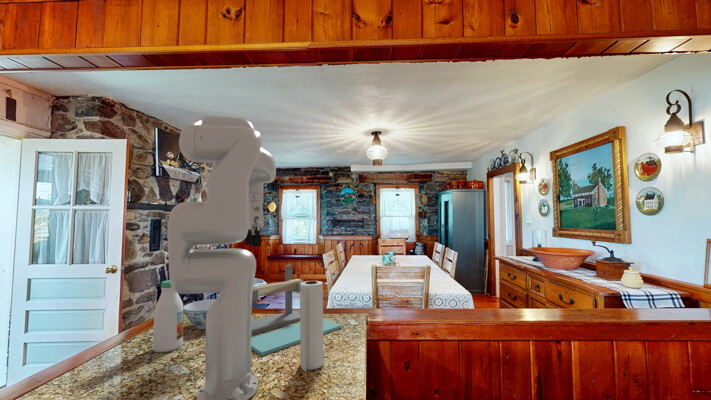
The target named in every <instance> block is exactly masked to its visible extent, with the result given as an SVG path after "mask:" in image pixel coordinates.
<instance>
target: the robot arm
mask: <svg viewBox="0 0 711 400" xmlns="http://www.w3.org/2000/svg"><path fill="white" fill-rule="evenodd" d="M262 143H263V141H262V135H261V133H260V132H259V131H258V130H256V129H255V128H254V126H253V124H252V122H250V121H248V120H247V119H245V118H242V117H235V116H216V115H215V116H214V115H205V116H202V117H201V116H200V117H199V118H196V119H194V120H193V121H190V122H189V123H187V124H186V125H184V127H183V128H182V130H181V131H180V134H179V139H178V144H179V145H178V147H179V149H180V152H181V154H182V155H183V157H184V158H185V159H186V160H188V161H190V162H194V163H216V165H215V166H214V167H213V168H212V170H211V171H210V172H209V174H208V176H207V178H206V200H205V201H184V202H180V203H177V204H176V205H174V207H173V208H171V211H170V213H169V216H168V220H167V249H168V251H167V253H168V256H167V257H168V273H169V275H168V276H169V280H170V283H171V287H172V289H173V290H174V291H175V292H177V293H178V294H180V295H193V294H194V295H197V294H211V293H213V294H215V293H217V294H218V297H217V298H215V299H216V300H215V301H214V303H213V304H212V305H211V306H210V308H209V309H208V312H207V315H206V329H205V352H204V353H205V357H204V358H205V361H204V363H205V365H204V384H202V385H201V387H199V389H198V390H197V392H196V400H249V399H250V398H252V397H253V396H254V395H255V394H256V393H257V391H258V390H259V380H258V378H257V377H256V376H255V375H253V374H252V349H251V337H253V336H252V321H253V319H252V318H253V317H252V310H253V308H252V307H253V302H252V293H253V287H254V283H255V282H254V281H255V278H256V277H255V276H256V271H257V260H256V257H255V255H254V254H253V253H252V252H251V251H249V250H247V249H243V248H236V247H234V248H215V249H212V248H211V249H196V247H197V246H204V245H205V246H210V245H230V244H237V243H241V242H243V241H244V245H246V246H248V245H251V247H253V248H254V247H261V246H262V230H263V229H264V227H265V224H264V207H263V204H264V184H271V183H273V182H274V181H275V179H276V176H277V168H276V162H275V159H274V156H273V155H272V154H271V153H270V152H269V151H267V150H265V149H264V148H262V145H263V144H262Z"/></svg>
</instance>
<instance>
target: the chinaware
mask: <svg viewBox="0 0 711 400" xmlns="http://www.w3.org/2000/svg"><path fill="white" fill-rule="evenodd" d="M216 299H217V298H212V299H203V300H197V301H193V302H190V303H187V304H185V305H183V314H184V316H185V317H186V319H187V320H188V322H190V323H191V324H193V326H195V327H196V329H199V330H204V329H205V330H206V315H207V312H208V309H209V308H210V306H211V305H212V304H213V303H214V301H215V300H216Z"/></svg>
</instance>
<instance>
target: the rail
mask: <svg viewBox="0 0 711 400" xmlns="http://www.w3.org/2000/svg"><path fill="white" fill-rule="evenodd" d="M297 282H304V279H301V278H295V279H292V280H289V281H285V280H284V281H279V282H272V283H268V284H261V285H260V284H259V285H257V286H256V285H255V286H254V285H253V290H258V298H259V297H264V296H268V295H273V294H279V293H283V292H284V293H285V291H289V290H294V289H297Z"/></svg>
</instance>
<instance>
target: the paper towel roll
mask: <svg viewBox="0 0 711 400" xmlns="http://www.w3.org/2000/svg"><path fill="white" fill-rule="evenodd" d="M323 283H324V282H323V281H319V280H307V281H303V282H302V283H300V293H299V307H300V308H299V313H300V321H299V323H300V343H299V344H300V347H299V351H300V353H299V354H300V357H299V358H300V362H299V363H300V368H301V370H303V371H304V372H305V373H307V370H309V371H311V370H316V369H320V368H321V367H323V365H324V334H323V319H324V284H323Z"/></svg>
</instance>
